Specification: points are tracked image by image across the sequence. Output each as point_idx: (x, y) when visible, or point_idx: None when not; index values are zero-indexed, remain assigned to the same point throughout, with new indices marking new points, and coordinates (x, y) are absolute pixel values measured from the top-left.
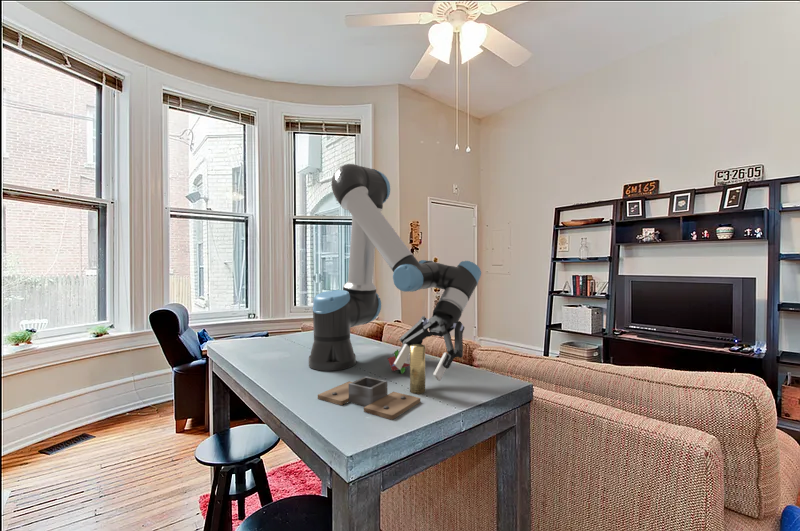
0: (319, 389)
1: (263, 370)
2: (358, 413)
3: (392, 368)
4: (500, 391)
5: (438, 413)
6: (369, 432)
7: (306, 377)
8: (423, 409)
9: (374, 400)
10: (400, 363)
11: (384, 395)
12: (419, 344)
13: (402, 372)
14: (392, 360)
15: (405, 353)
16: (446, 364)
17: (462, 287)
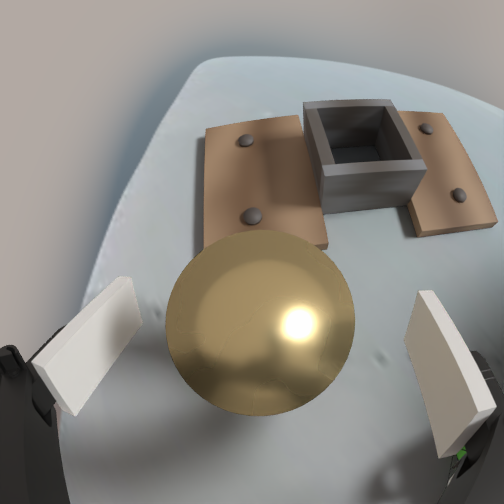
0: (491, 159)
1: None
2: (301, 113)
3: None
4: (69, 475)
5: (127, 233)
6: (215, 90)
7: None
8: (171, 226)
9: (307, 146)
10: (418, 337)
11: (317, 189)
12: (282, 398)
13: (459, 455)
14: None
15: (440, 387)
16: (62, 327)
17: None
